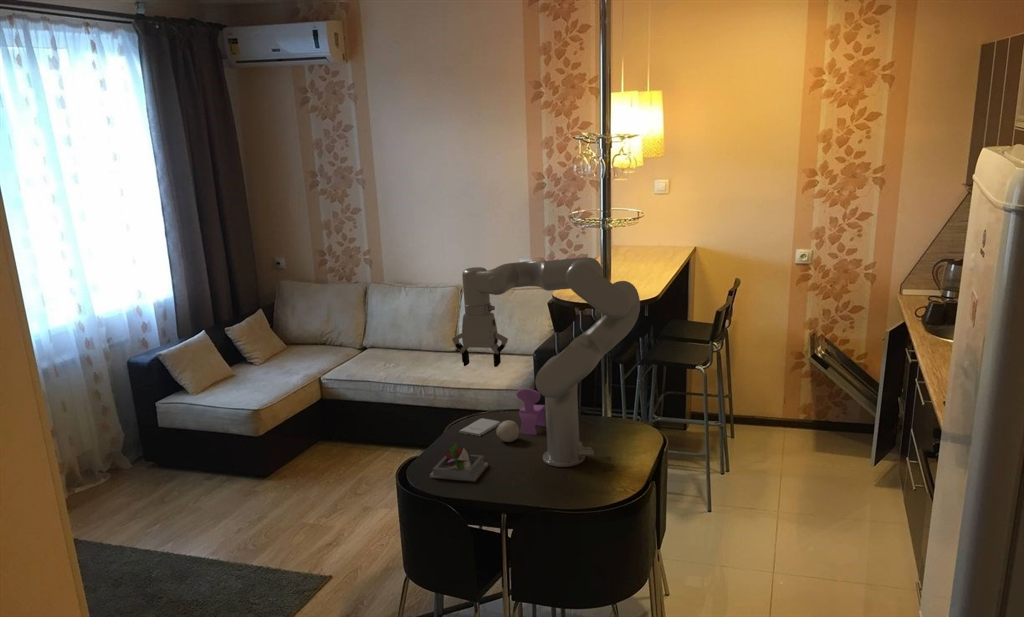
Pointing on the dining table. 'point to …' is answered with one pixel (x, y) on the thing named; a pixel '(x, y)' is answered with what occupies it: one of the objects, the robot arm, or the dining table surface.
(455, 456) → the geometric puzzle
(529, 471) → the dining table surface
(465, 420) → the dining table surface
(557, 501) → the dining table surface
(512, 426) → the baseball
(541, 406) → the toy chair
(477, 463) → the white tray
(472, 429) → the external hard drive
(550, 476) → the dining table surface
